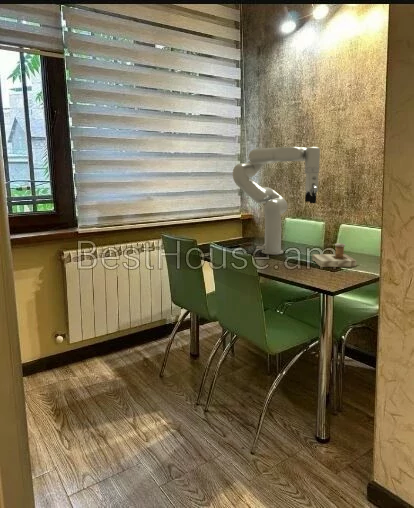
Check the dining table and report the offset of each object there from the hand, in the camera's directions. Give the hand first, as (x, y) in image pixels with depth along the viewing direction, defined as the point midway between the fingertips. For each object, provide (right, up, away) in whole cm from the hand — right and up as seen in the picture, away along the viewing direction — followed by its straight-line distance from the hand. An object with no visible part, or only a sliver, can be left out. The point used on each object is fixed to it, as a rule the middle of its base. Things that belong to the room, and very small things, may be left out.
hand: (310, 202), depth 224 cm
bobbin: (+12, -33, -10) cm, 37 cm away
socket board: (+9, -33, -10) cm, 36 cm away
